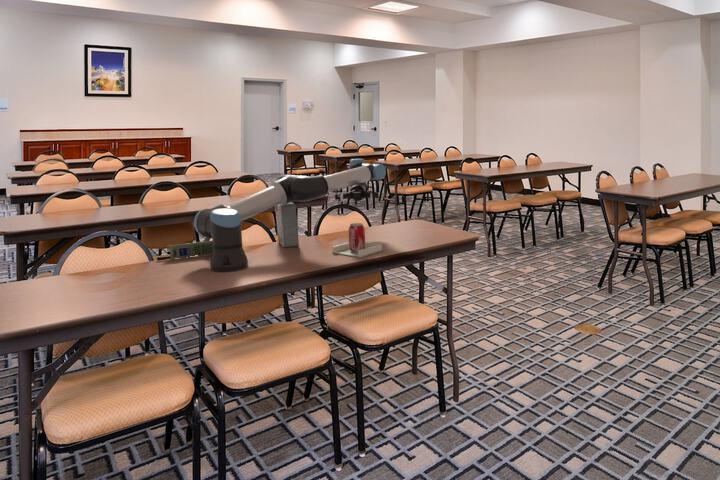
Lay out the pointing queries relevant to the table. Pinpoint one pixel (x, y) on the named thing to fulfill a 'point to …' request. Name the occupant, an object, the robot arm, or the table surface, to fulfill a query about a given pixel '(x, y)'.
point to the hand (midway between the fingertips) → (356, 198)
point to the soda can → (356, 237)
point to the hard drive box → (287, 224)
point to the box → (369, 249)
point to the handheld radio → (189, 250)
